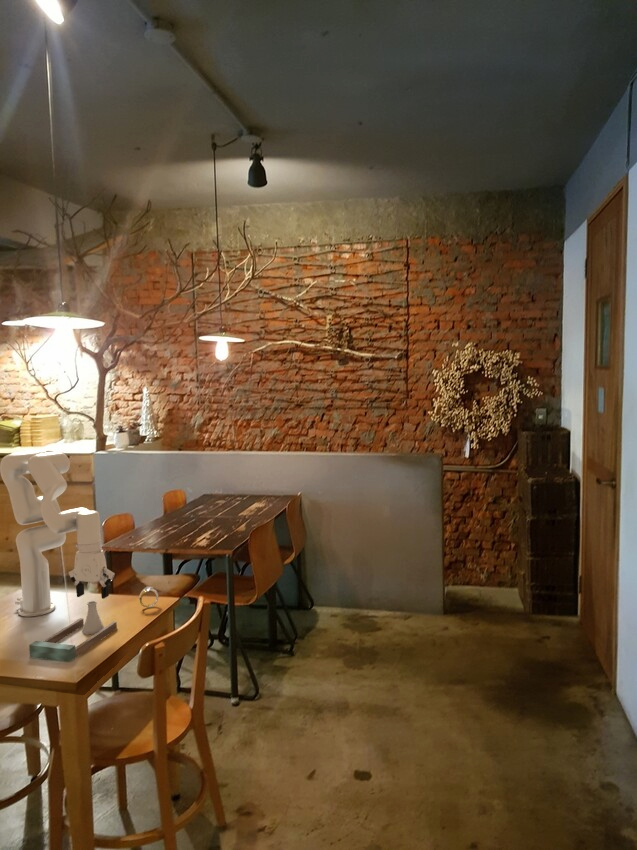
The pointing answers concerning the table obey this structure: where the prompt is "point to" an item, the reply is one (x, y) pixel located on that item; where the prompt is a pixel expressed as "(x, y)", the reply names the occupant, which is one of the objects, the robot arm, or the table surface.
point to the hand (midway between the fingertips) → (92, 596)
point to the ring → (145, 593)
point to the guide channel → (63, 651)
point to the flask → (92, 620)
